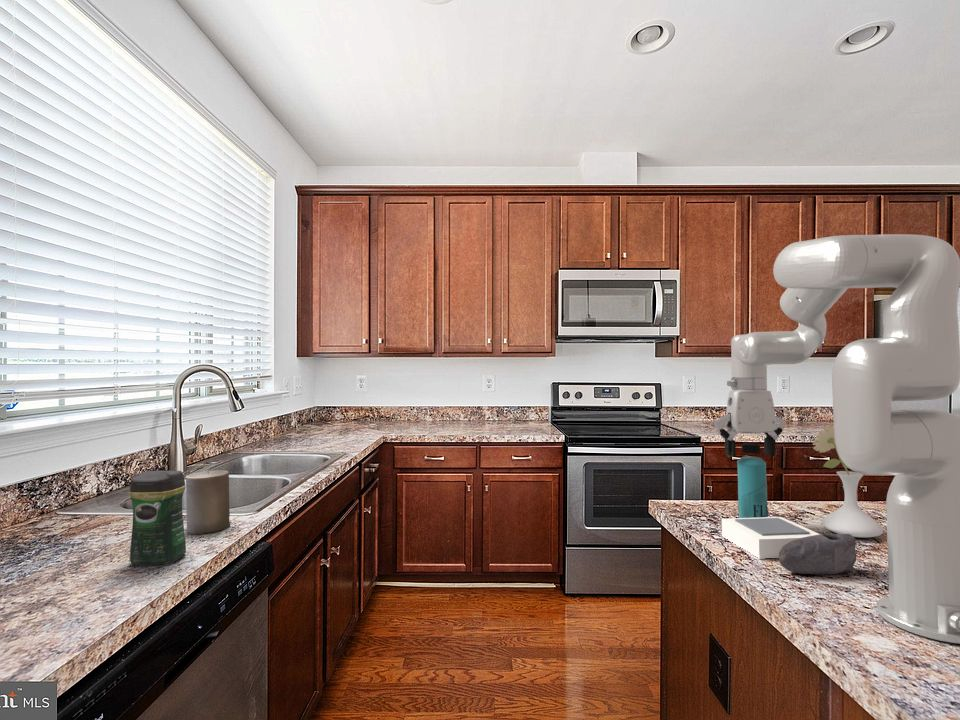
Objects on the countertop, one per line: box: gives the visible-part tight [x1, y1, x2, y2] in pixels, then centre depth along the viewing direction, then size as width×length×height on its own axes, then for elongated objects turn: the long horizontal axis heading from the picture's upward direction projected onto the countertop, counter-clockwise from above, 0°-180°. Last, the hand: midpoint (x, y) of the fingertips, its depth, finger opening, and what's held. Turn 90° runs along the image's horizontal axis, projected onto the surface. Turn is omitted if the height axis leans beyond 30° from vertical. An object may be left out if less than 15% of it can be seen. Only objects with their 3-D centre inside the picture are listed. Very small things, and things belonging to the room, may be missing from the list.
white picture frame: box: [721, 516, 820, 560], centre depth 107 cm, size 14×14×4 cm
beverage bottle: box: [736, 442, 770, 518], centre depth 121 cm, size 6×7×20 cm
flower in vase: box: [812, 424, 884, 539], centre depth 114 cm, size 13×11×25 cm
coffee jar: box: [129, 470, 187, 566], centre depth 105 cm, size 10×8×19 cm
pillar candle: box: [185, 468, 231, 535], centre depth 126 cm, size 10×10×15 cm
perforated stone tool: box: [778, 533, 857, 575], centre depth 93 cm, size 15×5×7 cm, turn 91°
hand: (750, 455), depth 121 cm, fingers open, 9 cm apart
